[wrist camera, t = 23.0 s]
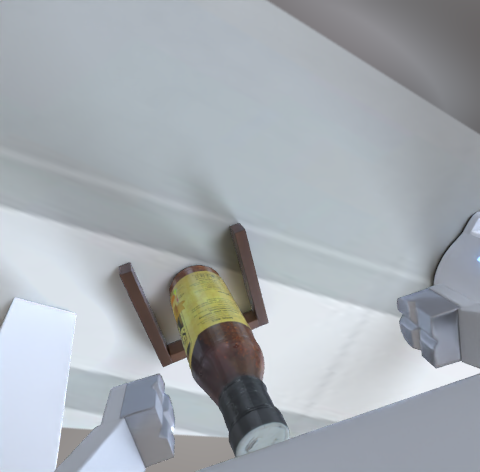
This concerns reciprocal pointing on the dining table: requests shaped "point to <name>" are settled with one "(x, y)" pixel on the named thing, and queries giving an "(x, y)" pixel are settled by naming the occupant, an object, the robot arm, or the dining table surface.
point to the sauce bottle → (225, 358)
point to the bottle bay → (176, 349)
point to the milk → (33, 384)
